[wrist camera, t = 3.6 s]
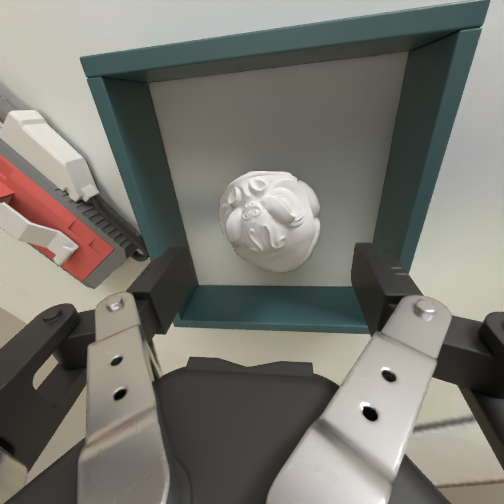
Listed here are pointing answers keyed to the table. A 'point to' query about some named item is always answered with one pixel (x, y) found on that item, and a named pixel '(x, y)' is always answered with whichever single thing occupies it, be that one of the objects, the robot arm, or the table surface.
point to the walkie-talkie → (58, 201)
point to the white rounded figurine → (270, 219)
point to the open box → (276, 55)
